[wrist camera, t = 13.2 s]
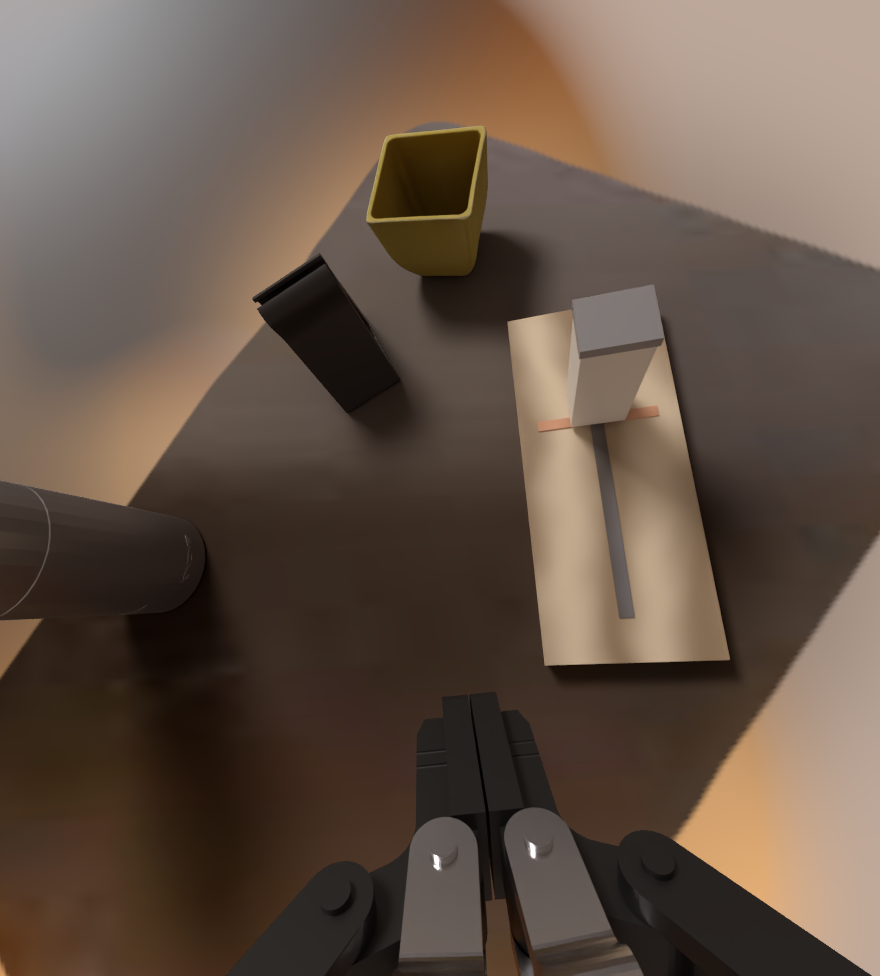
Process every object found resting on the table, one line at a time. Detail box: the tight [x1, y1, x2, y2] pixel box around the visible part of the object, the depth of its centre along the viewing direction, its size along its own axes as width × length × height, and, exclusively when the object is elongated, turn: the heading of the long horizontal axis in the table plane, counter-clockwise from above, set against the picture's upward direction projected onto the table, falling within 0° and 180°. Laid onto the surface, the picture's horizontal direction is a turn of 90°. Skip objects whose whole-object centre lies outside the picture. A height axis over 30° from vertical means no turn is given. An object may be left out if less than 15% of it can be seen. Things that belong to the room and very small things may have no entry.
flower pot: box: [366, 126, 488, 276], centre depth 40 cm, size 9×9×9 cm
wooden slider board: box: [507, 307, 730, 665], centre depth 35 cm, size 12×28×2 cm, turn 4°
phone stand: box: [253, 253, 400, 413], centre depth 38 cm, size 9×6×12 cm, turn 29°
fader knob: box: [566, 285, 664, 427], centre depth 30 cm, size 4×3×12 cm
